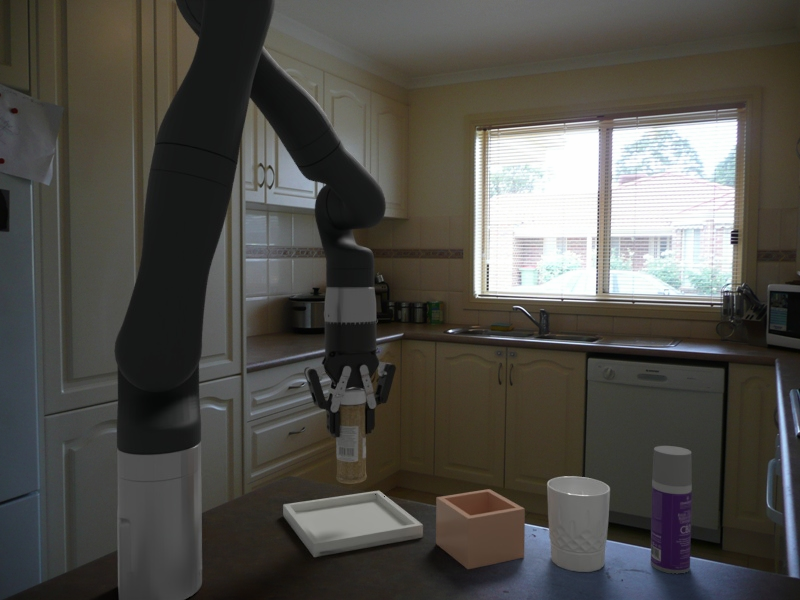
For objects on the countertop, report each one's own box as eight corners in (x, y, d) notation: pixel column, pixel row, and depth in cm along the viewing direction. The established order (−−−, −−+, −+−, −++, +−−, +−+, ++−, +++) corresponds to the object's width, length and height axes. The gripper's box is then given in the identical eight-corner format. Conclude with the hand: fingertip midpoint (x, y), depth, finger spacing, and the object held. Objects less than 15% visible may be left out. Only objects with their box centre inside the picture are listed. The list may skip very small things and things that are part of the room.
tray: (314, 557, 85) (314, 543, 85) (283, 516, 100) (283, 504, 100) (422, 537, 92) (422, 524, 92) (379, 501, 106) (379, 490, 106)
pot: (467, 569, 82) (468, 518, 82) (436, 543, 90) (436, 497, 89) (524, 557, 85) (524, 508, 85) (488, 533, 93) (489, 489, 93)
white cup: (595, 581, 79) (597, 500, 79) (536, 563, 84) (537, 487, 83) (617, 558, 85) (618, 483, 85) (560, 543, 90) (561, 472, 90)
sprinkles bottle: (372, 478, 96) (372, 388, 95) (352, 486, 92) (352, 393, 92) (349, 473, 99) (348, 385, 98) (329, 480, 95) (328, 389, 94)
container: (686, 577, 80) (689, 457, 79) (646, 568, 83) (649, 451, 82) (692, 563, 84) (695, 448, 83) (654, 554, 86) (657, 443, 86)
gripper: (310, 321, 88) (311, 446, 89) (405, 318, 94) (405, 435, 95) (295, 318, 95) (296, 434, 96) (385, 315, 101) (385, 424, 101)
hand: (351, 434), depth 95 cm, fingers closed on sprinkles bottle, 4 cm apart
